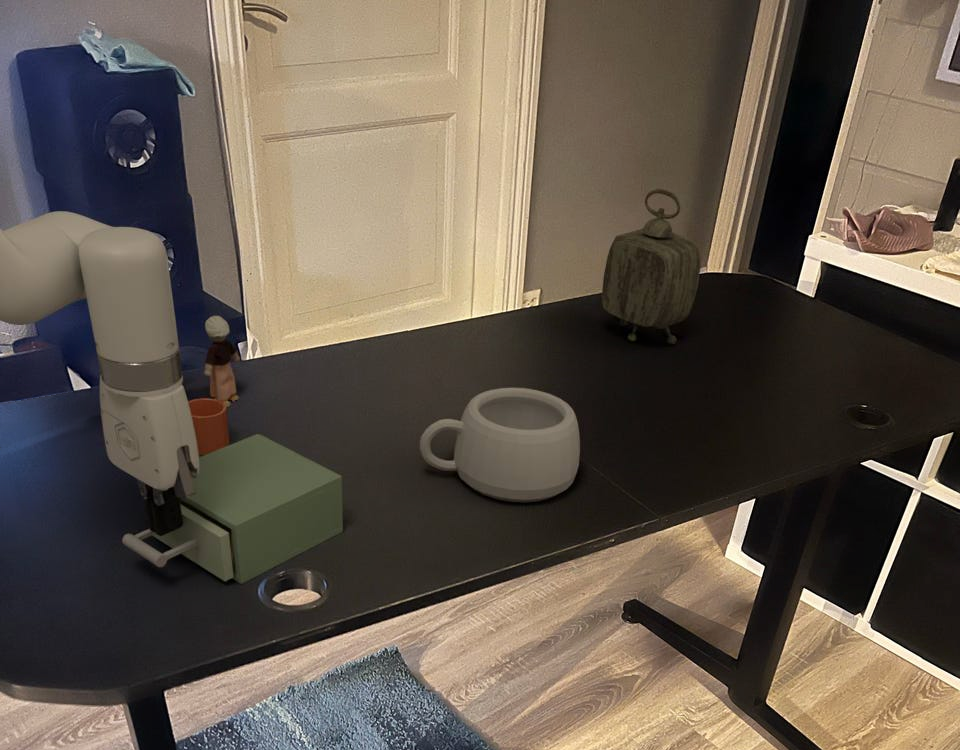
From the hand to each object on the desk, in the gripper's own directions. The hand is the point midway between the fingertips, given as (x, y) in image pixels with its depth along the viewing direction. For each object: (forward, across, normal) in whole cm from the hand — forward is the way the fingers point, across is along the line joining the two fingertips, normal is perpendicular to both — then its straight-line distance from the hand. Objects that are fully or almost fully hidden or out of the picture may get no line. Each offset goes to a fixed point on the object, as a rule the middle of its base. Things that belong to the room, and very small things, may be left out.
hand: (166, 528), depth 105 cm
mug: (+6, +12, +44) cm, 45 cm away
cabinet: (+6, 0, +12) cm, 13 cm away
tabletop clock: (+6, -2, +102) cm, 102 cm away
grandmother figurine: (+6, -30, +32) cm, 44 cm away
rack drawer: (+5, 0, +6) cm, 8 cm away
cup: (+6, -21, +22) cm, 31 cm away
